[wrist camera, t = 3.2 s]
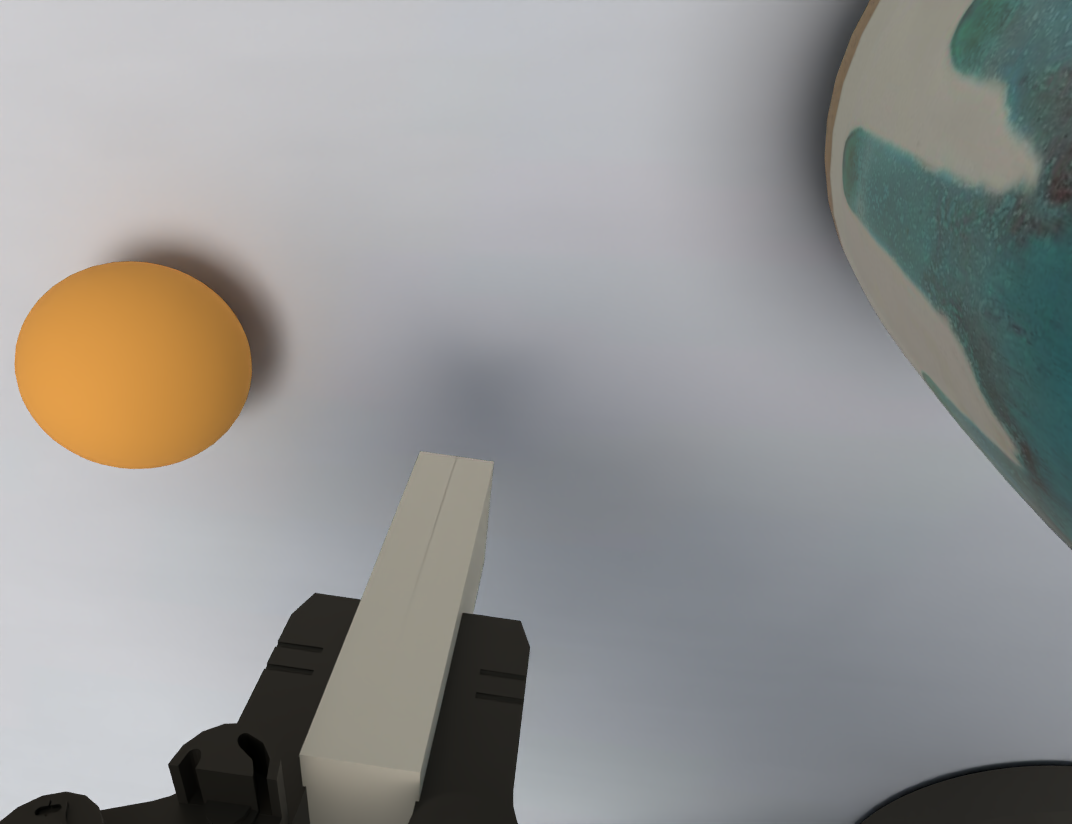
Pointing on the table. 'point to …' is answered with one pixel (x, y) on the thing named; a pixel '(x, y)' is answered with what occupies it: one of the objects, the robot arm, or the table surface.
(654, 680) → the table surface
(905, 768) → the table surface
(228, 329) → the ball
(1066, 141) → the vase
